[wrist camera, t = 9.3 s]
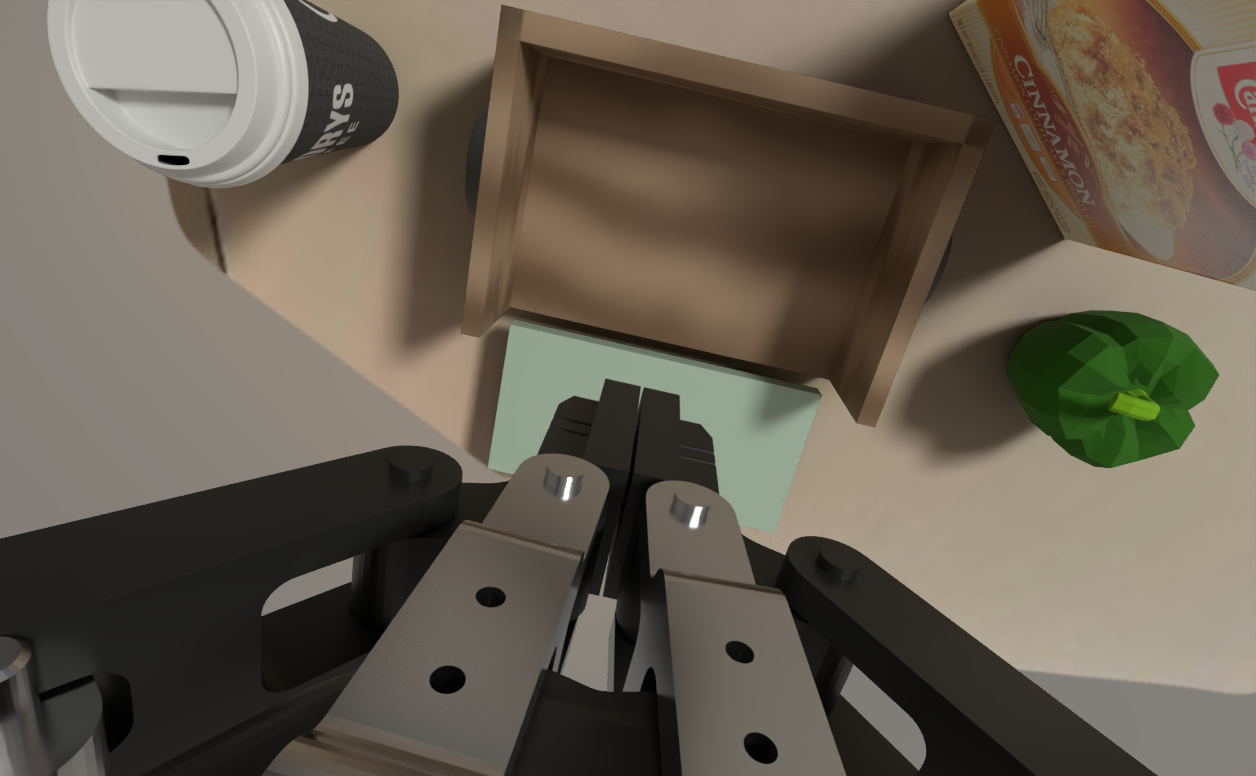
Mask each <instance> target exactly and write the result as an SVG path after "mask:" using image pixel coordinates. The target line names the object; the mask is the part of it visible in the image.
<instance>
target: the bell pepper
mask: <svg viewBox="0 0 1256 776" xmlns="http://www.w3.org/2000/svg"><path fill="white" fill-rule="evenodd" d="M1007 375H1008V377H1009V379H1010V381H1011V383H1012V385H1013V387H1014V389H1015V391H1016V394H1017V396H1018V398H1019V400H1020V402H1021V404H1022V406H1023V408H1024V409H1025V411H1026V413H1027V415H1028V417H1029V418H1030V420H1031V422H1032V423H1034V424H1035V425H1036V426H1037V427H1038V428H1039V429H1041V430H1042V431H1043V432H1044V433H1045V434H1046V435H1048V436H1051V437H1052V439H1053V440H1054V441H1055V442H1056V443H1057V444H1058V445H1060V446H1061V447H1062V448H1063V449H1064V450H1065V451H1066V452H1068V453H1069V454H1070V455H1071V456H1074V457H1076V458H1078V459H1080V460H1082V461H1084V462H1086V463H1088V464H1090V465H1092V466H1094V467H1104V468H1113V467H1117V466H1120V465H1124V464H1128V463H1132V462H1136V461H1139V460H1143V459H1146V458H1150V457H1153V456H1156V455H1160V454H1163V453H1167V452H1170V451H1174V450H1177V449H1180V447H1181V446H1182V444H1183V443H1184V442H1185V440H1186V439H1187V437H1188V436H1189V434H1190V433H1191V431H1192V430H1193V428H1194V427H1195V424H1194V422H1193V420H1192V418H1191V416H1190V414H1189V412H1188V410H1189V409H1191V408H1192V407H1194V406H1195V405H1197V404H1198V403H1200V402H1201V401H1203V400H1204V399H1205V398H1206V396H1207V395H1208V393H1209V391H1210V390H1211V388H1212V386H1213V385H1214V383H1215V381H1216V380H1217V378H1218V376H1219V374H1218V372H1217V370H1216V369H1215V367H1214V365H1213V364H1212V363H1211V362H1210V360H1209V359H1208V358H1207V357H1206V356H1205V354H1204V353H1203V352H1202V351H1201V350H1200V349H1199V347H1198V346H1197V345H1196V344H1195V343H1194V342H1193V340H1192V339H1191V338H1190V337H1189V336H1188V335H1187V334H1185V333H1183V332H1181V331H1179V330H1177V329H1175V328H1173V327H1171V326H1169V325H1167V324H1165V323H1163V322H1161V321H1158V320H1155V319H1152V318H1150V317H1147V316H1144V315H1141V314H1138V313H1131V312H1119V311H1085V312H1078V313H1071V314H1068V315H1066V316H1064V317H1062V318H1061V319H1060V320H1059V321H1050V320H1048V321H1046V322H1044V323H1042V324H1040V325H1038V326H1037V327H1035V328H1033V329H1031V330H1029V331H1027V332H1025V334H1024V335H1023V337H1022V338H1021V339H1020V341H1019V342H1018V343H1017V345H1016V346H1015V347H1014V348H1013V350H1012V351H1011V352H1010V357H1009V364H1008V370H1007Z"/></svg>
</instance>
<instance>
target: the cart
mask: <svg viewBox="0 0 1256 776" xmlns="http://www.w3.org/2000/svg"><path fill="white" fill-rule="evenodd" d="M995 123H996V120H993V119H989V118H985V117H980V116H976V115H972V114H968V113H963V112H959V111H955V110H950V109H946V108H942V107H938V106H933V105H929V104H925V103H920V102H916V101H912V100H908V99H903V98H899V97H895V96H891V95H886V94H882V93H878V92H873V91H869V90H865V89H861V88H856V87H852V86H848V85H843V84H839V83H835V82H831V81H826V80H822V79H818V78H813V77H809V76H805V75H801V74H796V73H792V72H788V71H783V70H779V69H775V68H771V67H766V66H762V65H758V64H753V63H749V62H745V61H741V60H736V59H732V58H728V57H723V56H719V55H715V54H711V53H706V52H702V51H698V50H693V49H689V48H685V47H681V46H676V45H672V44H668V43H663V42H659V41H655V40H651V39H646V38H642V37H638V36H633V35H629V34H625V33H621V32H616V31H612V30H608V29H603V28H599V27H595V26H591V25H586V24H582V23H578V22H574V21H569V20H565V19H561V18H556V17H552V16H548V15H544V14H539V13H535V12H531V11H526V10H522V9H518V8H514V7H509V6H505V5H501V13H500V21H499V29H498V37H497V46H496V54H495V62H494V70H493V78H492V86H491V94H490V102H488V103H486V104H485V105H484V106H483V108H482V109H481V111H480V113H479V115H478V117H477V119H476V122H475V125H474V128H473V132H472V136H471V140H470V145H469V150H468V157H467V165H466V183H465V186H466V199H467V204H468V208H469V210H470V212H471V213H472V214H474V215H476V216H475V224H474V232H473V240H472V248H471V257H470V265H469V273H468V281H467V289H466V297H465V305H464V313H463V321H462V330H461V334H465V335H469V336H474V337H478V338H480V337H481V336H482V335H483V334H484V333H485V332H486V331H487V330H488V329H489V328H490V327H491V326H492V325H493V324H494V323H495V322H496V321H497V320H498V319H499V318H500V317H501V316H502V315H503V314H504V313H505V312H506V311H507V310H508V309H509V308H510V307H512V308H516V309H521V310H525V311H530V312H534V313H538V314H543V315H547V316H552V317H556V318H560V319H565V320H569V321H574V322H578V323H582V324H587V325H591V326H596V327H600V328H604V329H609V330H613V331H618V332H622V333H626V334H631V335H635V336H640V337H644V338H648V339H653V340H657V341H662V342H666V343H670V344H675V345H679V346H684V347H688V348H692V349H697V350H701V351H706V352H710V353H714V354H719V355H723V356H728V357H732V358H736V359H741V360H745V361H750V362H754V363H758V364H763V365H767V366H772V367H776V368H780V369H785V370H789V371H794V372H798V373H802V374H807V375H811V376H816V377H820V378H824V379H829V380H830V382H831V383H832V385H833V387H834V388H835V390H836V391H837V393H838V395H839V396H840V398H841V399H842V401H843V403H844V404H845V406H846V407H847V409H848V411H849V412H850V414H851V415H852V417H853V419H854V420H855V422H856V423H858V424H862V425H867V426H871V427H875V426H876V424H877V421H878V419H879V416H880V414H881V411H882V409H883V406H884V404H885V401H886V399H887V396H888V393H889V391H890V388H891V386H892V383H893V381H894V378H895V376H896V373H897V371H898V368H899V366H900V363H901V361H902V358H903V356H904V353H905V350H906V348H907V345H908V343H909V340H910V338H911V335H912V333H913V330H914V328H915V325H916V323H917V320H918V318H919V315H920V313H921V310H922V308H923V305H924V304H925V303H926V301H927V300H928V299H929V298H930V296H931V295H932V293H933V291H934V290H935V288H936V286H937V284H938V282H939V280H940V278H941V276H942V274H943V271H944V268H945V266H946V263H947V260H948V256H949V252H950V248H951V243H952V234H953V229H954V227H955V224H956V222H957V219H958V216H959V214H960V211H961V209H962V206H963V204H964V201H965V199H966V196H967V194H968V191H969V189H970V186H971V184H972V181H973V179H974V176H975V173H976V171H977V168H978V166H979V163H980V161H981V158H982V156H983V153H984V151H985V148H986V146H987V143H988V141H989V138H990V136H991V133H992V131H993V128H994V125H995Z"/></svg>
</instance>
